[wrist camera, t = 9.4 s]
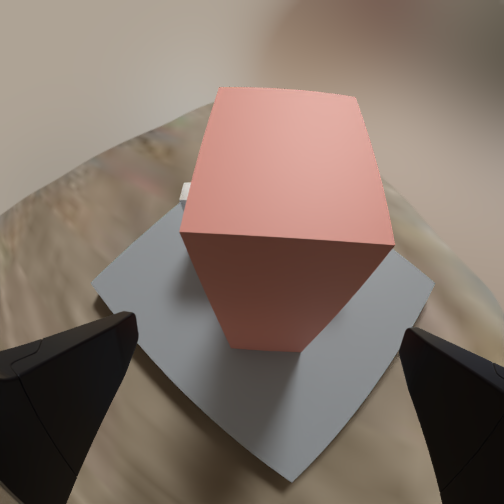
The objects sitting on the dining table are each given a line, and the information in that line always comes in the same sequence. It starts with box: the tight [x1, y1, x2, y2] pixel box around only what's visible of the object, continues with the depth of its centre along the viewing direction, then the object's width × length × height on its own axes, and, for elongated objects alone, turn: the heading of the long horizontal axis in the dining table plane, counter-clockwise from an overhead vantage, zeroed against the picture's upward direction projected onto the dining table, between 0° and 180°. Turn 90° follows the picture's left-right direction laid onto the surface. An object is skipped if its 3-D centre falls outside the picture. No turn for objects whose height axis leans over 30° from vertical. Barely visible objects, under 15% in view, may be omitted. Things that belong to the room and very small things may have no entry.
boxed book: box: [179, 87, 395, 352], centre depth 12 cm, size 5×4×12 cm
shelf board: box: [91, 203, 435, 482], centre depth 19 cm, size 18×16×2 cm
